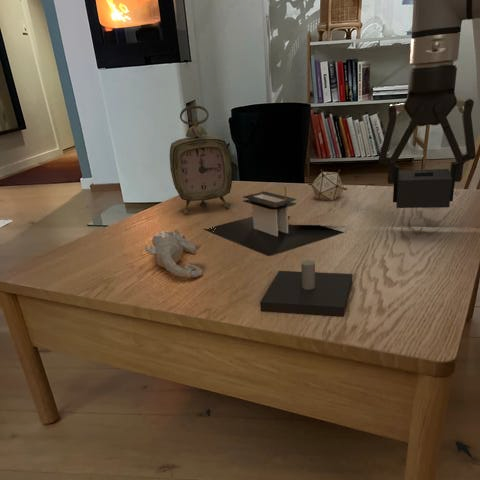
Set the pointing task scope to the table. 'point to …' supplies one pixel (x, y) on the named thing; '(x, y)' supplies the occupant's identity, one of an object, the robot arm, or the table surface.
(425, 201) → the black square block
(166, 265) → the seahorse
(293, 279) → the base pad
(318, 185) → the game die
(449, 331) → the table surface
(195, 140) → the tabletop clock
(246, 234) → the architectural model
